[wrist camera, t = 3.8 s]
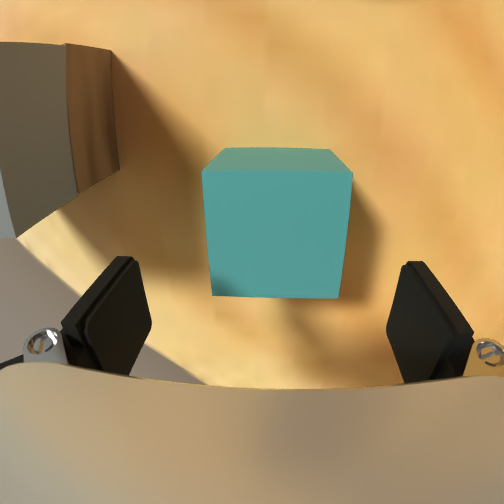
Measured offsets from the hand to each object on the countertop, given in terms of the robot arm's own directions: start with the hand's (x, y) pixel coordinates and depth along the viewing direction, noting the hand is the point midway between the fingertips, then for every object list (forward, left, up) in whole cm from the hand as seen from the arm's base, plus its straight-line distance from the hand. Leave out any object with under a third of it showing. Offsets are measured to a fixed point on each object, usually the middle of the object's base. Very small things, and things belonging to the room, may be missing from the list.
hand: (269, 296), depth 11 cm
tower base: (+14, -7, -9) cm, 18 cm away
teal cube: (0, -1, -9) cm, 9 cm away
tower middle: (+14, -7, -4) cm, 16 cm away
